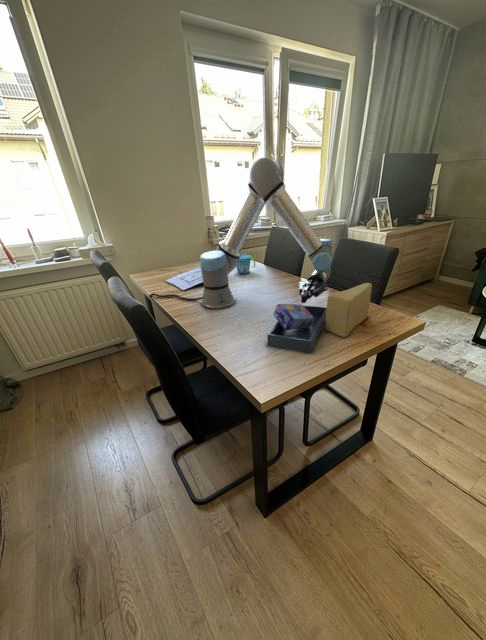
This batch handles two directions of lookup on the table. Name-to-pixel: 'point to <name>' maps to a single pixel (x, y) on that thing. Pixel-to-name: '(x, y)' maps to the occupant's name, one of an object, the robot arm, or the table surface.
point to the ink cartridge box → (293, 316)
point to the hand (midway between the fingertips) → (303, 299)
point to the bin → (299, 332)
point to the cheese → (347, 309)
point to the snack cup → (244, 264)
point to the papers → (187, 279)
